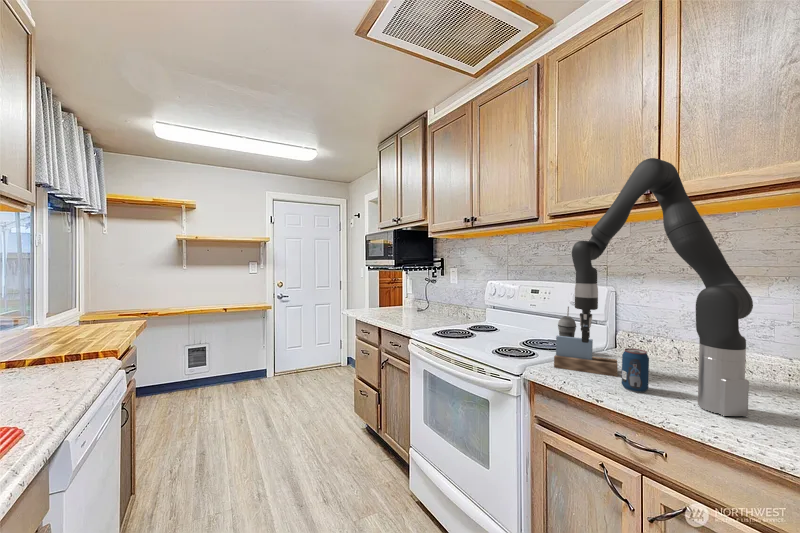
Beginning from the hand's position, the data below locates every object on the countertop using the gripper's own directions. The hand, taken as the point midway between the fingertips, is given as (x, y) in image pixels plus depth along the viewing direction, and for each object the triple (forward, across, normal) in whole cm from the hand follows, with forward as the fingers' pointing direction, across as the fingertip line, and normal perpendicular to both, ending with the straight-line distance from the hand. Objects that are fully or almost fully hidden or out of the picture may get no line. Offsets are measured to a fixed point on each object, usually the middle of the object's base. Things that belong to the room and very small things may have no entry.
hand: (585, 340), depth 130 cm
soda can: (+11, -15, -14) cm, 23 cm away
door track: (+11, 0, 0) cm, 11 cm away
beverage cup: (+11, +22, +8) cm, 26 cm away
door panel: (+10, 0, +4) cm, 10 cm away
